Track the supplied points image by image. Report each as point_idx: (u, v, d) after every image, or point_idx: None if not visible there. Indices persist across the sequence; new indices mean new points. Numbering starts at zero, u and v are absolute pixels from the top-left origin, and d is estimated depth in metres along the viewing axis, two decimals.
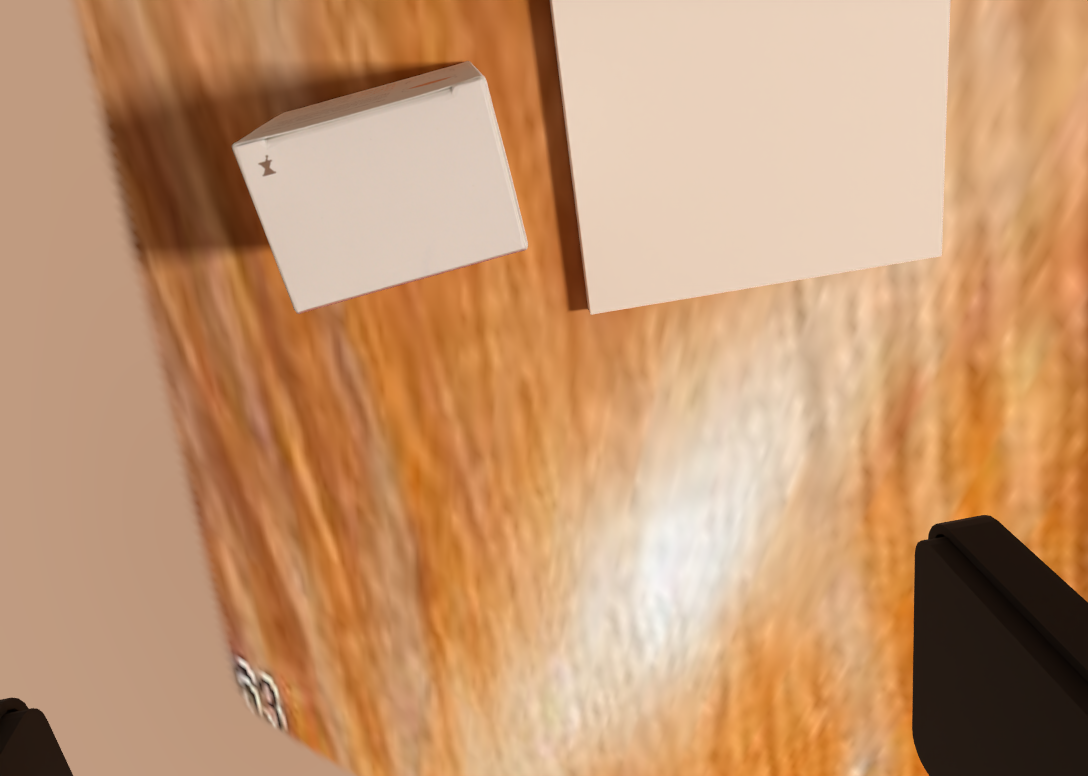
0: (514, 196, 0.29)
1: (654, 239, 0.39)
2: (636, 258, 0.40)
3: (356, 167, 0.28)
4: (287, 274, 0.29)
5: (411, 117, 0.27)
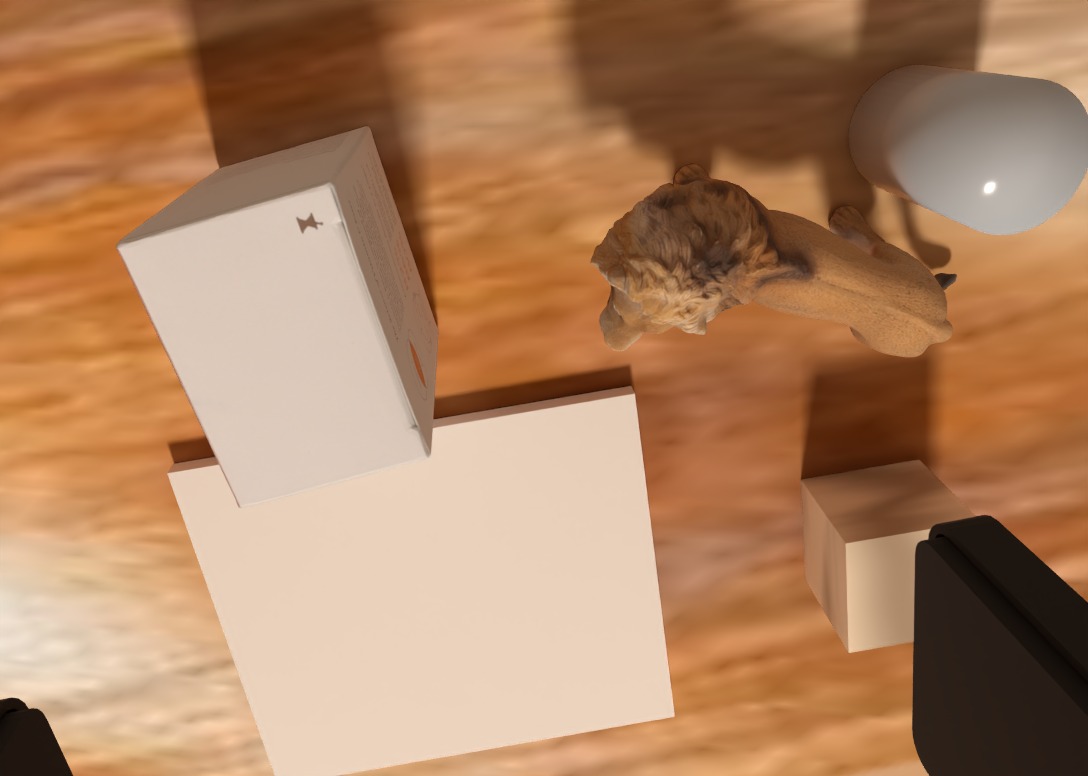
0: (300, 492, 0.25)
1: (264, 530, 0.36)
2: (240, 514, 0.36)
3: (318, 327, 0.23)
4: (169, 237, 0.22)
5: (380, 387, 0.24)
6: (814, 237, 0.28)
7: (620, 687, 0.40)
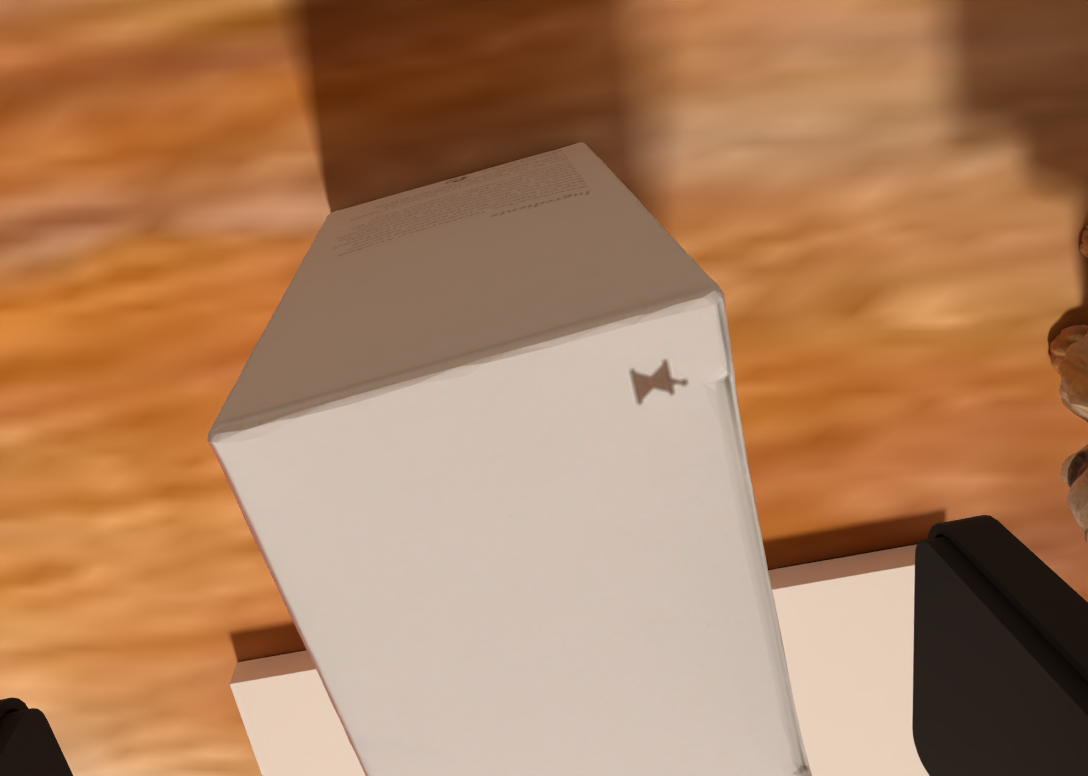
0: None
1: None
2: (341, 739, 0.23)
3: (642, 597, 0.10)
4: (334, 418, 0.09)
5: (751, 703, 0.11)
6: None
7: None
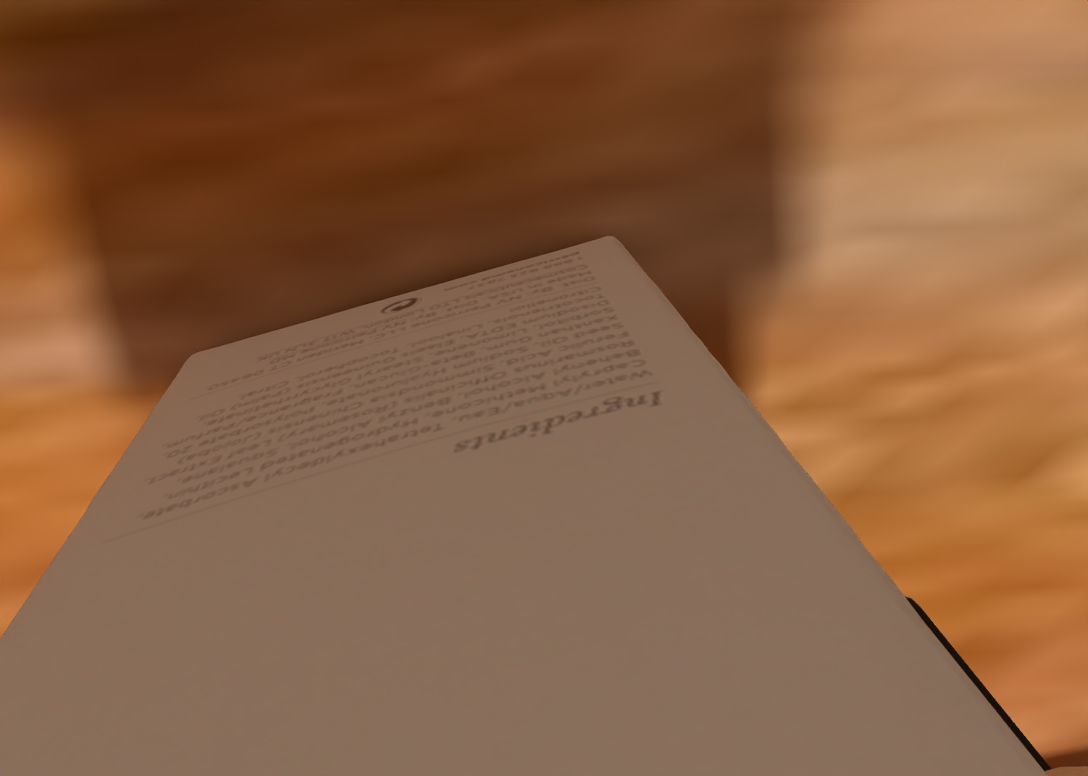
0: None
1: None
2: None
3: None
4: None
5: None
6: None
7: None
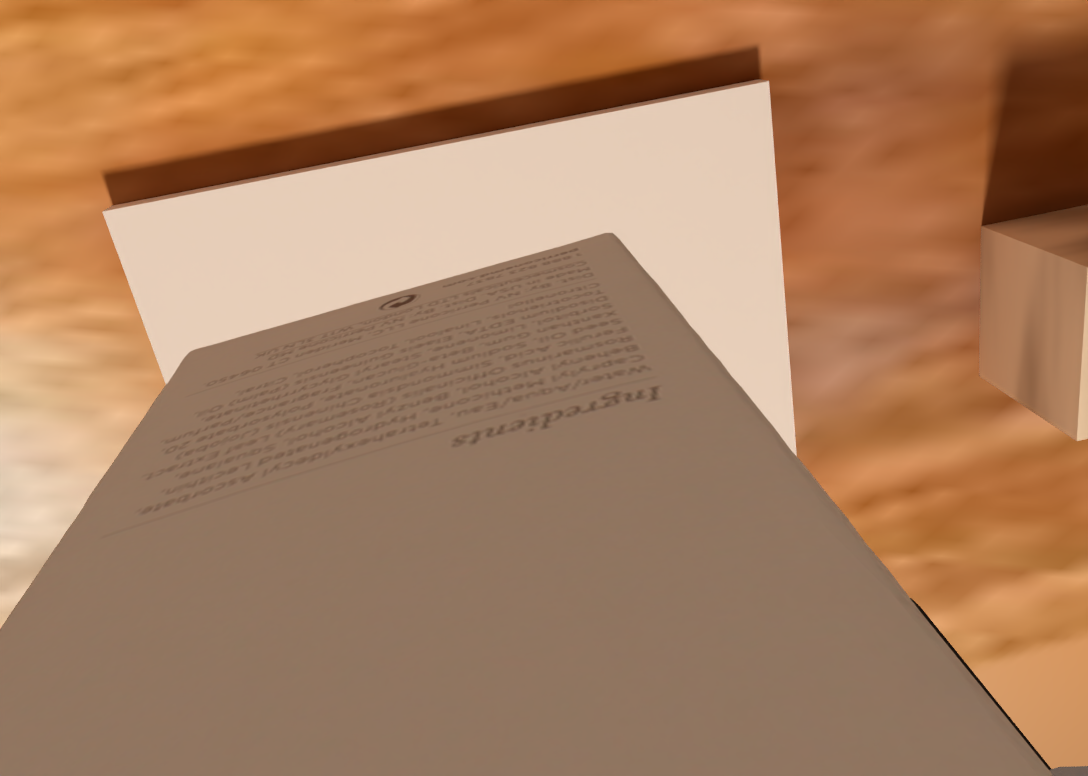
0: None
1: (246, 301, 0.25)
2: (212, 277, 0.25)
3: None
4: None
5: None
6: None
7: None
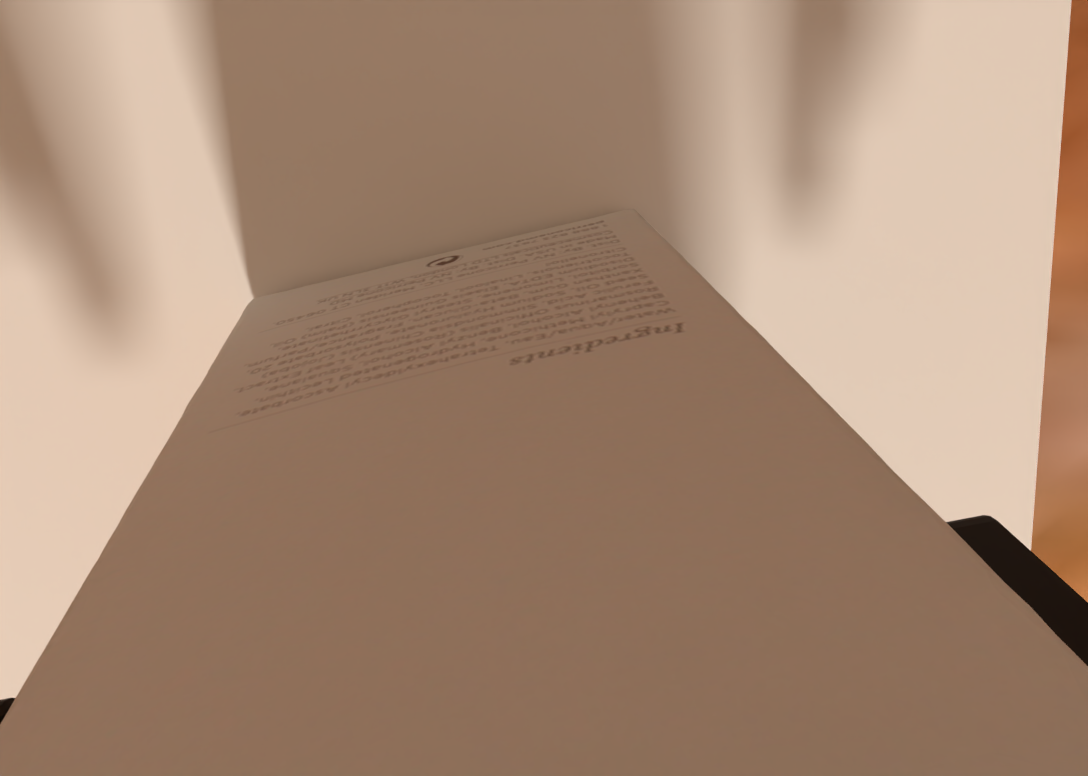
0: None
1: None
2: None
3: None
4: None
5: None
6: None
7: None
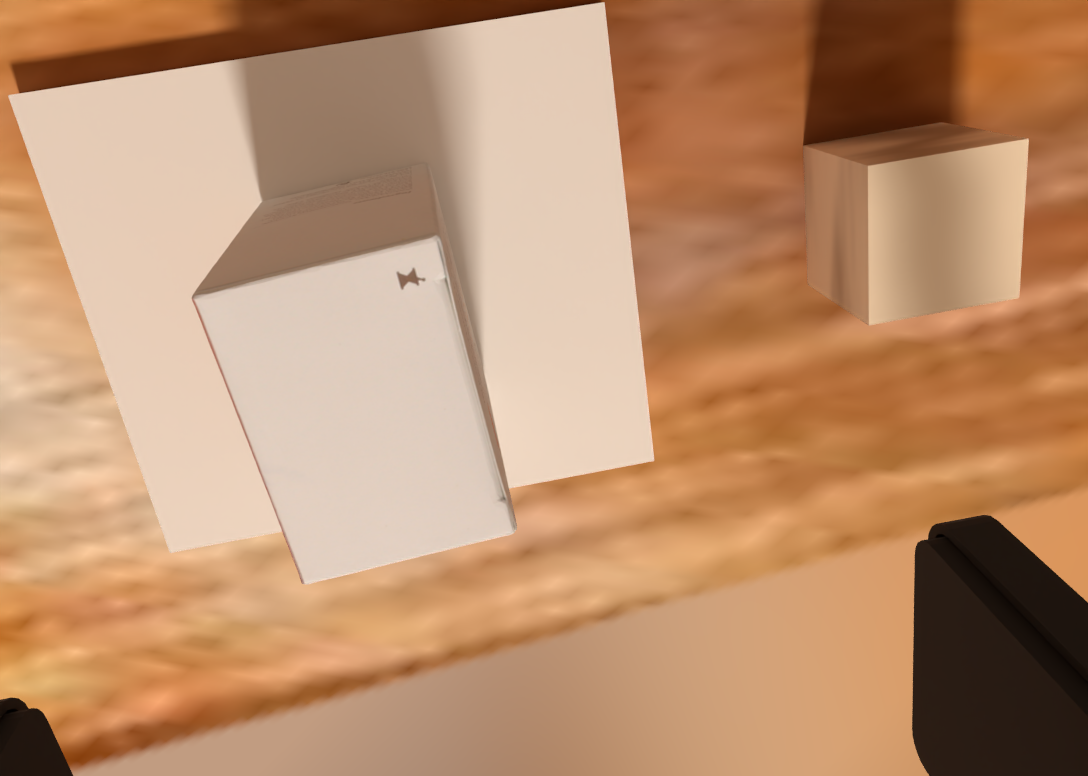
0: None
1: (139, 184, 0.28)
2: (108, 160, 0.28)
3: (409, 391, 0.21)
4: (253, 289, 0.20)
5: (471, 456, 0.22)
6: None
7: (589, 419, 0.33)
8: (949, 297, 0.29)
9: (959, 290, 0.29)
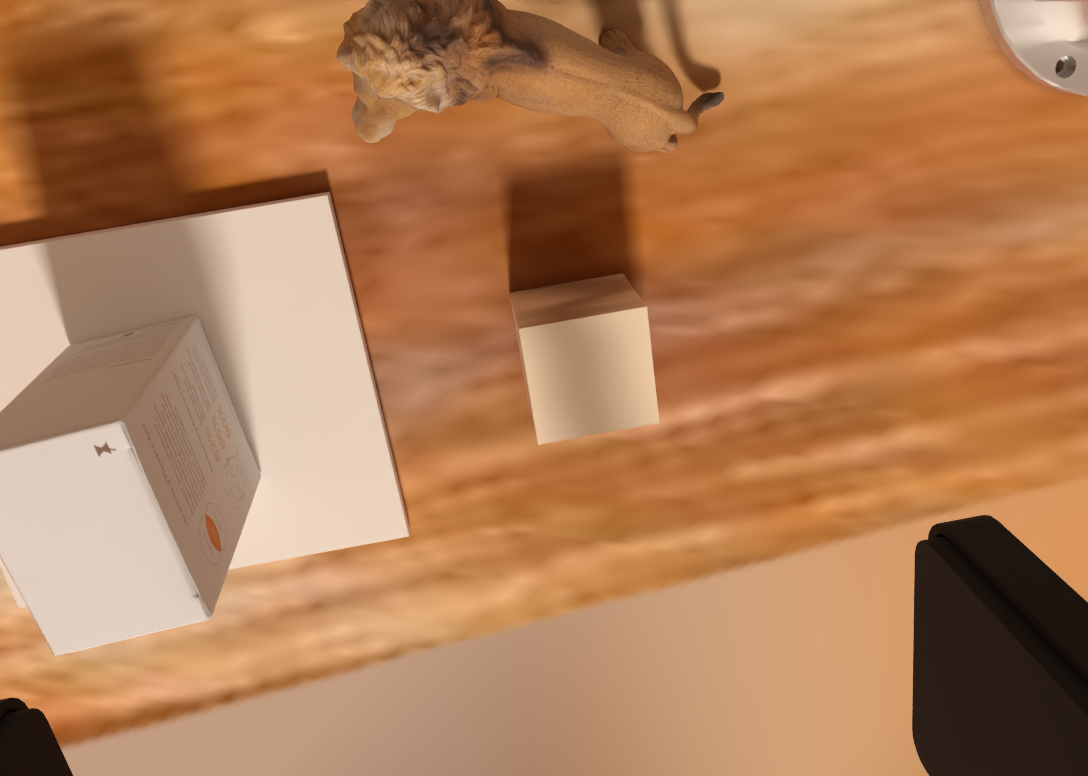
0: None
1: None
2: None
3: (113, 524, 0.29)
4: None
5: (167, 567, 0.30)
6: (547, 29, 0.30)
7: (351, 505, 0.42)
8: (601, 423, 0.37)
9: (608, 417, 0.37)
